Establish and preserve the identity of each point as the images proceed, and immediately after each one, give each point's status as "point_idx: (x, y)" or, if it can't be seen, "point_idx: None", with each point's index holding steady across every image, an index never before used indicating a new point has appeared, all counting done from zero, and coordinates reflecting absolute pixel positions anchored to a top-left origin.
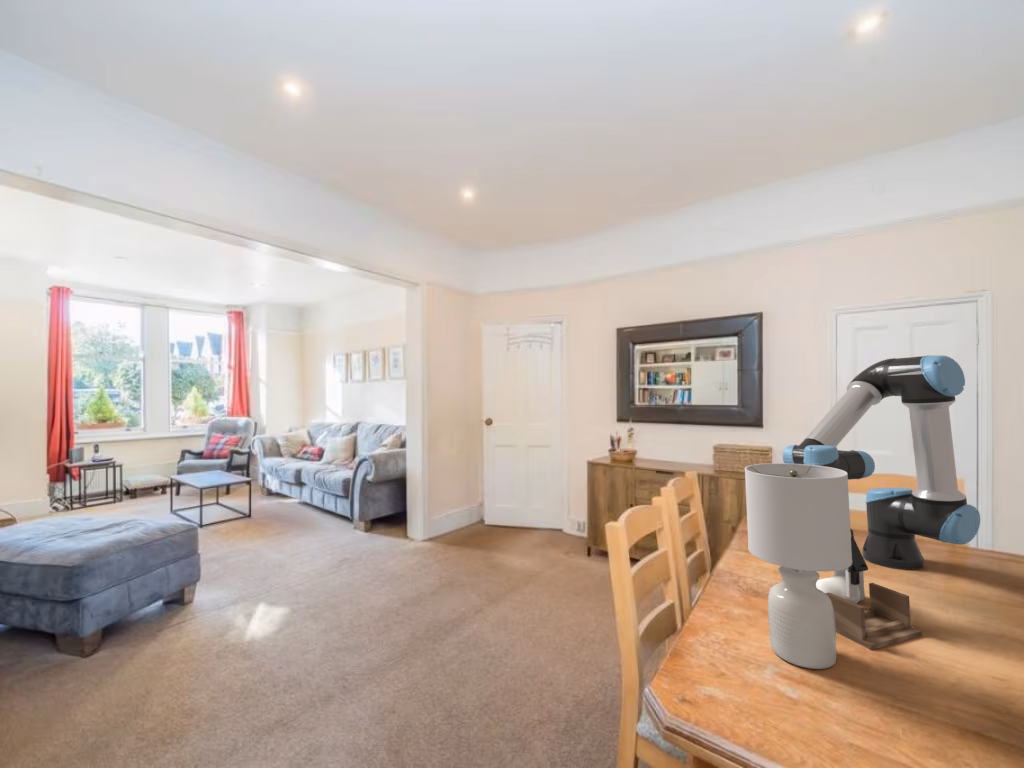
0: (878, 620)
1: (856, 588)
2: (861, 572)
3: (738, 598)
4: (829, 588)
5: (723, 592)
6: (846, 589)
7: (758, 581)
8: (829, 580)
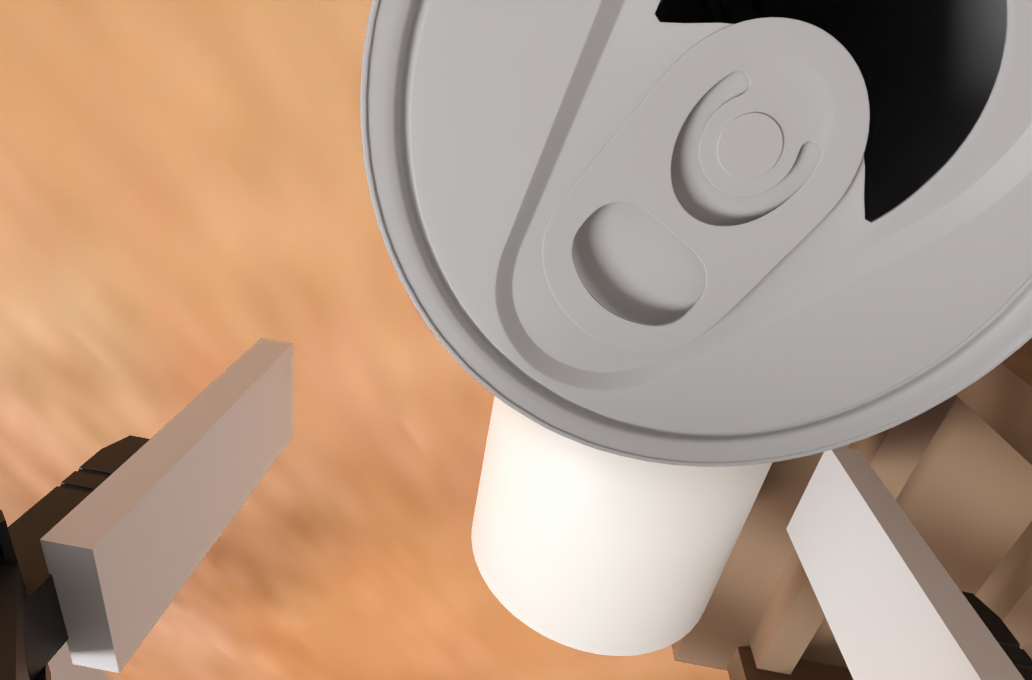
0: (974, 431)
1: (894, 511)
2: (913, 114)
3: (257, 667)
4: (680, 635)
5: (167, 663)
6: (813, 583)
7: (67, 396)
8: (635, 580)
